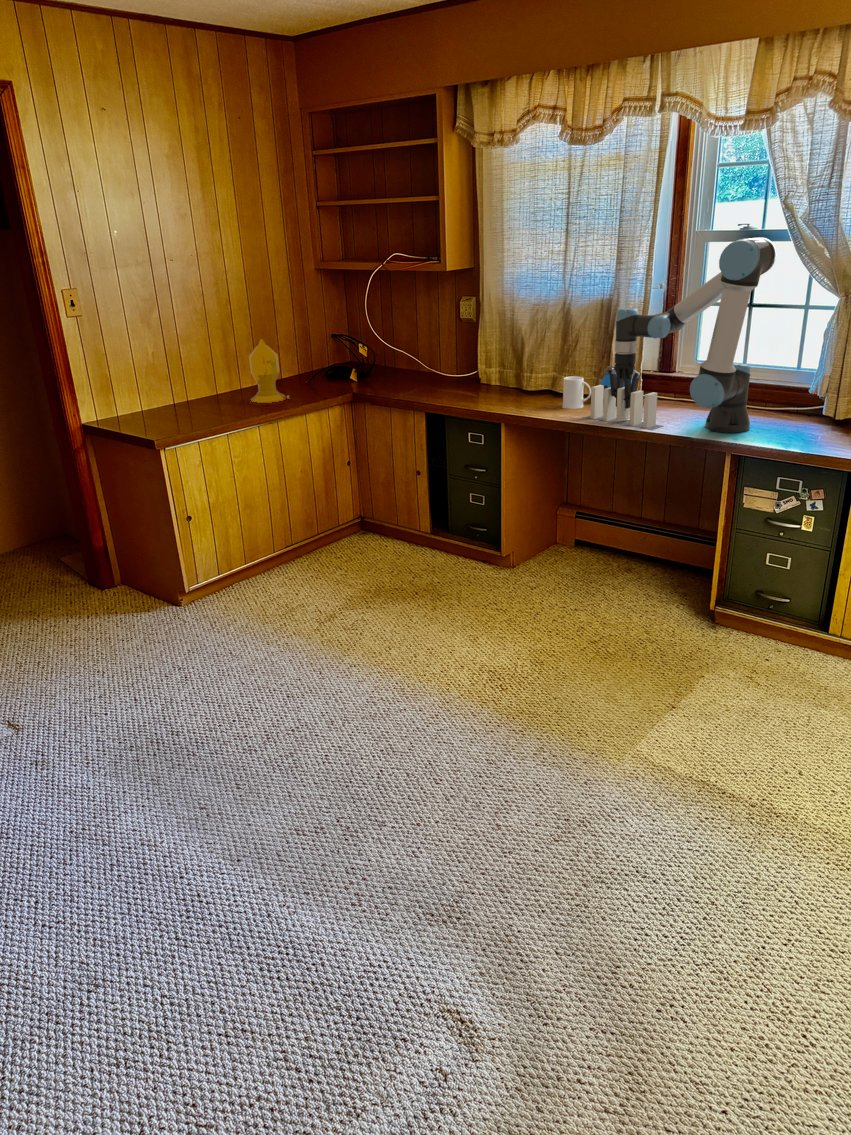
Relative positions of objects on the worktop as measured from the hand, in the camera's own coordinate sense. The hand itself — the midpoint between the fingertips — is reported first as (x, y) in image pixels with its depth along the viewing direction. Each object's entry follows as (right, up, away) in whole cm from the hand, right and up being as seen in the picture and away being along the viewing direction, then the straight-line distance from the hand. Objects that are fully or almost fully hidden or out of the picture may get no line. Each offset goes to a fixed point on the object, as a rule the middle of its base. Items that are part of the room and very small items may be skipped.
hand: (622, 416), depth 315 cm
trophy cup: (-145, +19, +69) cm, 161 cm away
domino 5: (+8, -5, -8) cm, 12 cm away
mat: (0, -2, +1) cm, 3 cm away
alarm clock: (+5, +11, +32) cm, 34 cm away
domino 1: (-8, +1, +9) cm, 12 cm away
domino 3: (0, -1, +1) cm, 1 cm away
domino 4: (+4, -4, -3) cm, 6 cm away
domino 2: (-4, 0, +5) cm, 6 cm away
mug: (-12, +8, +28) cm, 32 cm away
